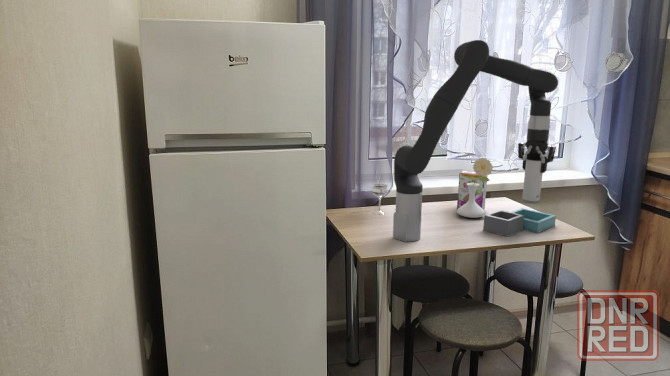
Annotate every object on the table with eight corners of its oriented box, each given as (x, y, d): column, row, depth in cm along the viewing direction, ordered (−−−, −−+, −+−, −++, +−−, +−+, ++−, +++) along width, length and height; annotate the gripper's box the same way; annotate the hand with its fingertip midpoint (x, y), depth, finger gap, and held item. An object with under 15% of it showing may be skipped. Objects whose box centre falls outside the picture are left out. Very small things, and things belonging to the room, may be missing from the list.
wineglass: (388, 215, 197) (388, 187, 194) (372, 214, 197) (372, 187, 195) (386, 210, 204) (387, 183, 201) (371, 210, 204) (371, 183, 201)
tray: (537, 232, 175) (538, 222, 174) (503, 224, 185) (504, 214, 184) (554, 225, 183) (555, 215, 182) (521, 217, 194) (522, 208, 193)
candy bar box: (456, 208, 207) (458, 172, 203) (460, 206, 211) (462, 170, 207) (481, 212, 201) (484, 175, 197) (485, 209, 205) (487, 173, 202)
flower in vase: (455, 218, 192) (458, 158, 187) (458, 211, 203) (461, 154, 197) (488, 221, 188) (493, 160, 182) (489, 214, 198) (494, 156, 193)
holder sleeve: (507, 236, 170) (508, 221, 169) (483, 230, 178) (484, 214, 176) (522, 230, 177) (524, 215, 176) (498, 224, 185) (500, 209, 183)
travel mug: (541, 204, 178) (547, 152, 174) (523, 203, 180) (528, 151, 175) (538, 200, 184) (543, 150, 180) (520, 199, 185) (525, 149, 181)
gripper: (515, 126, 178) (511, 169, 182) (552, 130, 168) (547, 175, 171) (525, 125, 183) (521, 167, 187) (562, 128, 172) (557, 173, 176)
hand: (534, 171), depth 179 cm, fingers closed on travel mug, 6 cm apart
